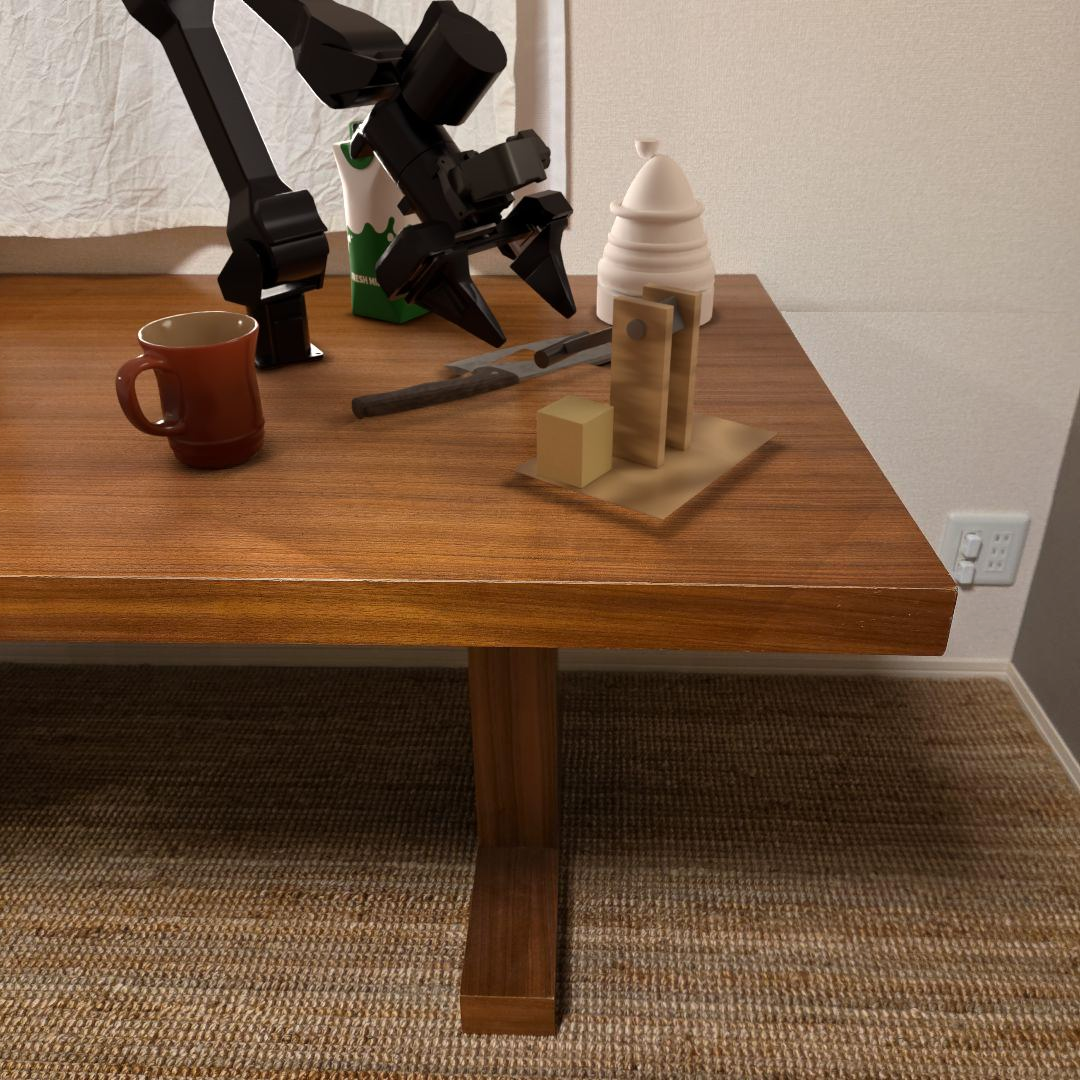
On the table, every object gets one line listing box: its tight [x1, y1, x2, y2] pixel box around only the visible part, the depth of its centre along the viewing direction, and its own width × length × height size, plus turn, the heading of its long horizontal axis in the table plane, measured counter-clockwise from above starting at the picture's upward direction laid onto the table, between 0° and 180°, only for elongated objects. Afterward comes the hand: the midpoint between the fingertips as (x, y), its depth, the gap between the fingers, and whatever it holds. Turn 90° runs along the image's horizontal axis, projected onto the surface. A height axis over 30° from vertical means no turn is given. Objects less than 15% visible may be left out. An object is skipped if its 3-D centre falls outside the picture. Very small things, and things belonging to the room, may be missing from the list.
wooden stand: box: [511, 283, 778, 521], centre depth 75 cm, size 13×18×13 cm
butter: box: [536, 394, 614, 488], centre depth 73 cm, size 4×4×5 cm
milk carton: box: [331, 119, 431, 325], centre depth 109 cm, size 9×9×20 cm
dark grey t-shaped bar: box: [533, 296, 685, 369], centre depth 75 cm, size 11×6×2 cm, turn 54°
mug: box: [114, 310, 266, 470], centre depth 76 cm, size 12×9×10 cm
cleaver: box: [350, 334, 612, 420], centre depth 94 cm, size 30×10×2 cm, turn 131°
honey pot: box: [596, 137, 716, 326], centre depth 108 cm, size 13×13×18 cm
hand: (538, 329), depth 79 cm, fingers open, 9 cm apart
